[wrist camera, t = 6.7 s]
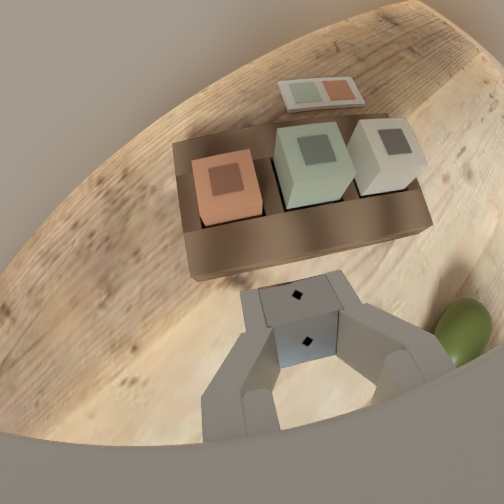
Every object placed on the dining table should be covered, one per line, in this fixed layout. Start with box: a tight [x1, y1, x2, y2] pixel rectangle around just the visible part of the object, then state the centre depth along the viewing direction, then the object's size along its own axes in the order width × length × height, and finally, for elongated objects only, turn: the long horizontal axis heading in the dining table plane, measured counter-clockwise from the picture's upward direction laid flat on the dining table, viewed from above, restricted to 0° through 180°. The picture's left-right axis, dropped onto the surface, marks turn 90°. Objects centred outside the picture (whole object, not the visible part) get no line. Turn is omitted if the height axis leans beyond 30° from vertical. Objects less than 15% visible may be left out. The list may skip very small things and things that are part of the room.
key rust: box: [191, 149, 263, 228], centre depth 24 cm, size 4×4×5 cm
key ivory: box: [346, 118, 428, 196], centre depth 22 cm, size 4×4×5 cm
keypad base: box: [172, 113, 433, 282], centre depth 26 cm, size 21×12×3 cm, turn 102°
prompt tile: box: [277, 77, 366, 113], centre depth 29 cm, size 9×4×1 cm, turn 102°
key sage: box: [274, 122, 356, 209], centre depth 22 cm, size 4×4×5 cm
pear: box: [433, 299, 492, 368], centre depth 22 cm, size 6×5×10 cm
